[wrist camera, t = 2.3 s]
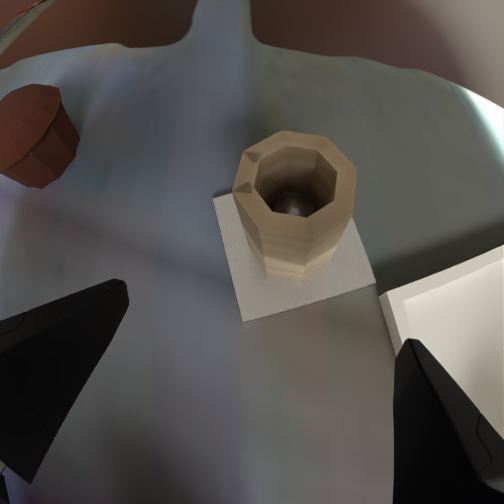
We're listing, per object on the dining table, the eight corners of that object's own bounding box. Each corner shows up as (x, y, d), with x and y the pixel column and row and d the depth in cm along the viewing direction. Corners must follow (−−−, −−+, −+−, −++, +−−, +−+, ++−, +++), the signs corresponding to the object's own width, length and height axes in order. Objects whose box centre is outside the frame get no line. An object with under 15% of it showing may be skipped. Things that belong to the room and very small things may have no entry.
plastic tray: (420, 479, 16) (430, 487, 15) (378, 296, 22) (386, 291, 20) (547, 392, 16) (560, 393, 14) (512, 242, 22) (524, 234, 20)
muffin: (7, 178, 30) (-41, 138, 20) (58, 112, 32) (21, 64, 23) (44, 215, 27) (-18, 169, 17) (107, 133, 29) (63, 70, 20)
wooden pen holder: (280, 294, 22) (280, 260, 14) (236, 228, 24) (214, 167, 16) (347, 248, 22) (379, 194, 14) (300, 188, 24) (306, 117, 16)
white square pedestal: (244, 322, 22) (232, 313, 17) (214, 201, 25) (197, 164, 20) (373, 284, 22) (399, 263, 17) (330, 171, 25) (339, 129, 20)
